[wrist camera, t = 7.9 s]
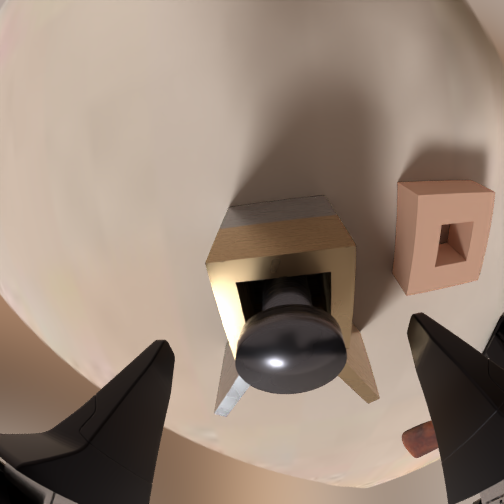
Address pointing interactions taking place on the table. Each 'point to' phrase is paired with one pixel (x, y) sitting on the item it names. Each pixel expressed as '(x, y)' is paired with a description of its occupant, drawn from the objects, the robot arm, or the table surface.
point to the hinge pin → (289, 341)
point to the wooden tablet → (420, 439)
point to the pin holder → (429, 228)
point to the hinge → (285, 265)
